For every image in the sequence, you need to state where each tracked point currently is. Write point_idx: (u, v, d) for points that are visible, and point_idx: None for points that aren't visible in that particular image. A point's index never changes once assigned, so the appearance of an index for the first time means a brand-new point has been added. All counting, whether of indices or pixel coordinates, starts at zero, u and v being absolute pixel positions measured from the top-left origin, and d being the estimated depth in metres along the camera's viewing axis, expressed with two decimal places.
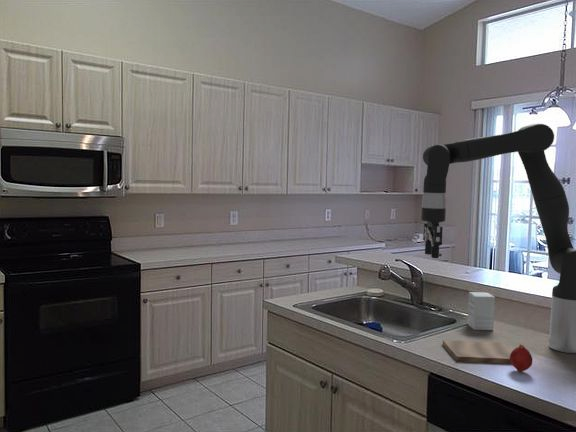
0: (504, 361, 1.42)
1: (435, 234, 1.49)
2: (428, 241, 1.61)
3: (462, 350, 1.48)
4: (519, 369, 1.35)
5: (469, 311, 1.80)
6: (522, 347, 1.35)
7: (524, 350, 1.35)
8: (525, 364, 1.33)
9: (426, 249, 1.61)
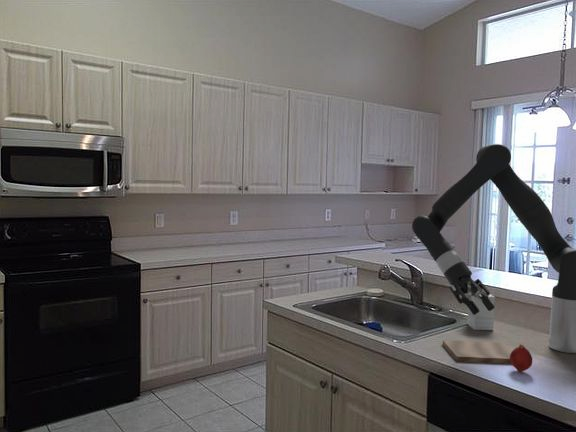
0: (504, 361, 1.42)
1: (454, 293, 1.45)
2: (482, 297, 1.49)
3: (462, 350, 1.48)
4: (519, 369, 1.35)
5: (469, 311, 1.80)
6: (522, 347, 1.35)
7: (524, 350, 1.35)
8: (525, 364, 1.33)
9: (486, 306, 1.48)
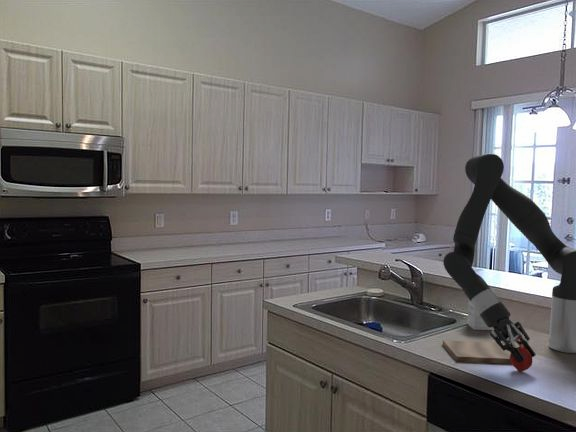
0: (504, 361, 1.42)
1: (496, 340, 1.35)
2: (521, 343, 1.39)
3: (462, 350, 1.48)
4: (519, 369, 1.35)
5: (469, 311, 1.80)
6: (522, 347, 1.35)
7: (524, 350, 1.35)
8: (525, 364, 1.33)
9: None
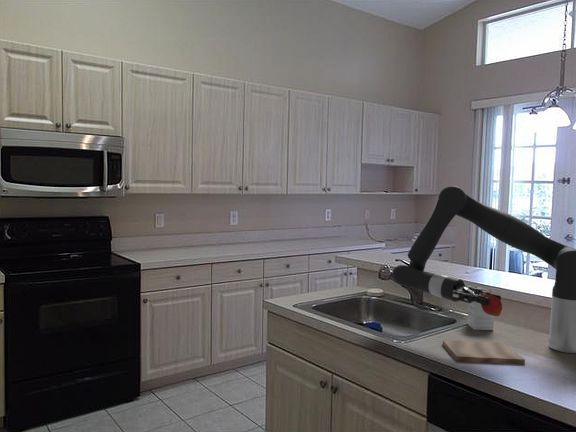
0: (504, 361, 1.42)
1: (460, 299, 1.47)
2: None
3: (462, 350, 1.48)
4: (495, 312, 1.44)
5: (469, 311, 1.80)
6: (484, 294, 1.47)
7: (487, 295, 1.46)
8: (494, 304, 1.43)
9: None
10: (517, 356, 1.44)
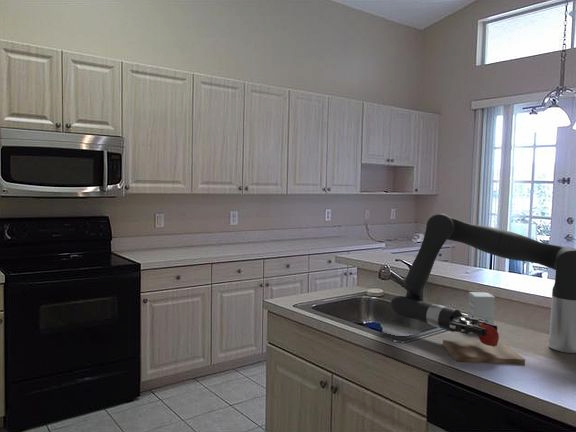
0: (504, 361, 1.42)
1: (456, 330, 1.49)
2: None
3: (462, 350, 1.48)
4: (492, 343, 1.45)
5: (469, 311, 1.80)
6: (481, 324, 1.49)
7: (483, 325, 1.48)
8: (491, 334, 1.45)
9: None
10: (517, 356, 1.44)
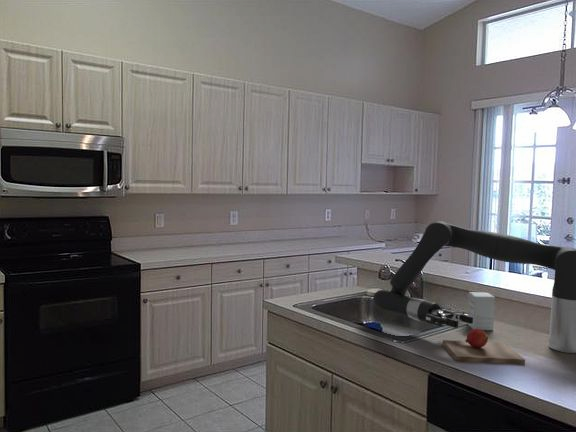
0: (504, 361, 1.42)
1: (431, 322, 1.56)
2: (460, 317, 1.60)
3: (462, 350, 1.48)
4: (481, 335, 1.49)
5: (469, 311, 1.80)
6: (466, 339, 1.54)
7: None
8: (473, 331, 1.50)
9: (467, 322, 1.58)
10: (517, 356, 1.44)
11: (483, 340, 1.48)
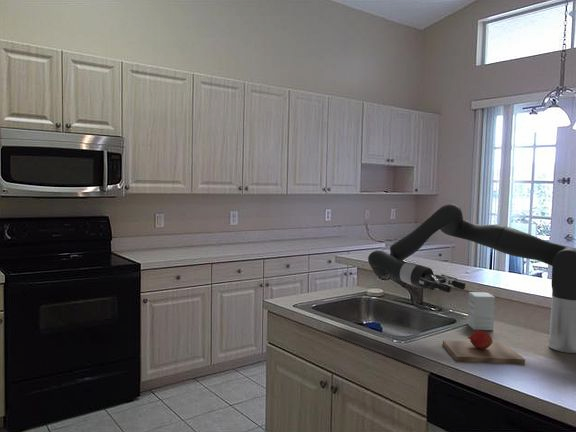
0: (504, 361, 1.42)
1: (424, 286, 1.57)
2: (452, 283, 1.62)
3: (462, 350, 1.48)
4: (486, 340, 1.47)
5: (469, 311, 1.80)
6: (469, 335, 1.53)
7: None
8: (480, 333, 1.49)
9: (459, 287, 1.60)
10: (517, 356, 1.44)
11: (486, 345, 1.48)
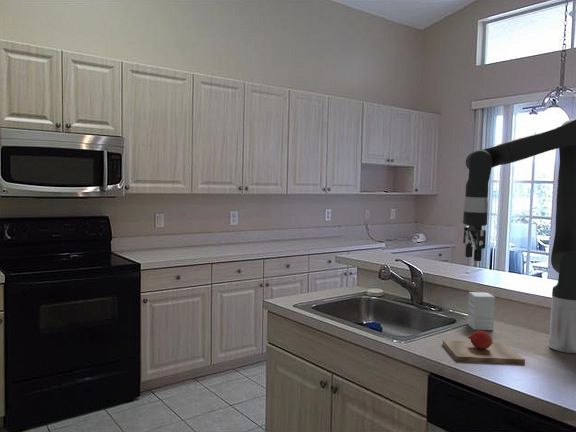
0: (504, 361, 1.42)
1: (479, 238, 1.53)
2: (468, 244, 1.64)
3: (462, 350, 1.48)
4: (486, 340, 1.47)
5: (469, 311, 1.80)
6: (470, 335, 1.53)
7: (472, 334, 1.52)
8: (480, 333, 1.49)
9: (466, 252, 1.64)
10: (517, 356, 1.44)
11: (487, 345, 1.48)
